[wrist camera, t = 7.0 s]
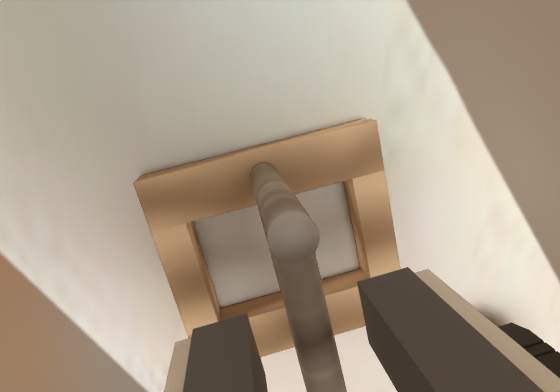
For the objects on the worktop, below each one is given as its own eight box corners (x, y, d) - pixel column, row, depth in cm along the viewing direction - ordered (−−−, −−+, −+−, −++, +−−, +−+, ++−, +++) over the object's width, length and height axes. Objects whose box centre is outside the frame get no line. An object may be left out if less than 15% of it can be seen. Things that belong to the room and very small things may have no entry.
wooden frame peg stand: (141, 175, 22) (46, 257, 11) (363, 118, 23) (499, 136, 12) (203, 354, 26) (183, 560, 14) (394, 298, 27) (521, 449, 15)
